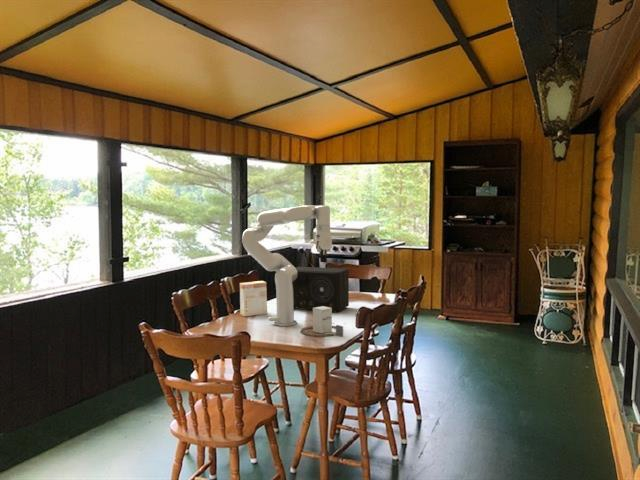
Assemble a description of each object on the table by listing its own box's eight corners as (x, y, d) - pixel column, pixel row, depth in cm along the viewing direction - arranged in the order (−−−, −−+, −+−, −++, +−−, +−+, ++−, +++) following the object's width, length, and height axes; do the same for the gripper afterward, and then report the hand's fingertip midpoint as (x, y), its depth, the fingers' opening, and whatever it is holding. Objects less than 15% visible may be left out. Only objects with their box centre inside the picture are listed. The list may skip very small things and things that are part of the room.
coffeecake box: (263, 311, 335) (262, 280, 334) (267, 313, 329) (266, 282, 327) (240, 314, 328) (239, 282, 327) (244, 316, 322) (243, 284, 320)
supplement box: (322, 333, 279) (321, 309, 278) (312, 331, 284) (312, 307, 283) (332, 331, 284) (332, 307, 283) (322, 328, 289) (322, 305, 288)
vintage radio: (282, 309, 341) (282, 270, 339) (295, 303, 359) (295, 266, 357) (338, 313, 326) (338, 272, 324) (349, 307, 344) (349, 268, 342)
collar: (326, 340, 266) (326, 330, 265) (292, 331, 285) (292, 321, 284) (357, 332, 281) (356, 322, 280) (322, 324, 300) (322, 315, 299)
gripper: (321, 229, 284) (321, 263, 286) (336, 227, 297) (336, 261, 298) (309, 228, 288) (310, 263, 290) (324, 227, 301) (325, 260, 302)
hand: (323, 261), depth 294 cm, fingers closed
